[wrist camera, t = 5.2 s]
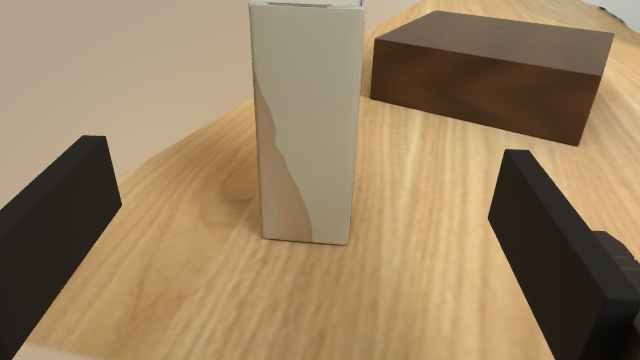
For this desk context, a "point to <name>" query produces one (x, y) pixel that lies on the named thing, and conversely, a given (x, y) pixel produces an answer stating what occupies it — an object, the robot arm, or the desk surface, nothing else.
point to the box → (306, 114)
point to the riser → (493, 72)
